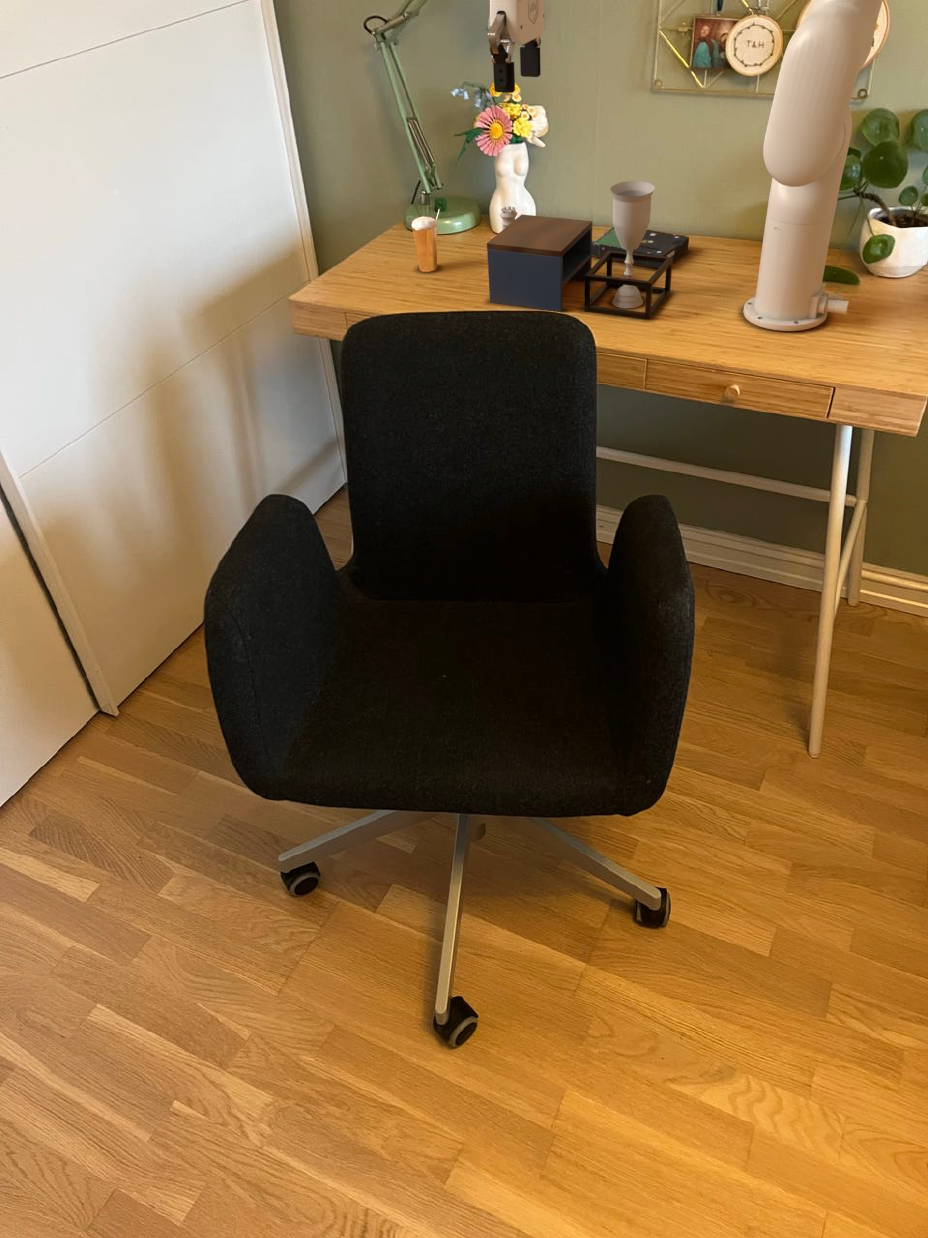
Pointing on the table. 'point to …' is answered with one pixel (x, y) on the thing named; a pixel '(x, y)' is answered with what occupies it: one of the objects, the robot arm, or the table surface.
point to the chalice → (630, 230)
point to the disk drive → (643, 246)
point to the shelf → (538, 260)
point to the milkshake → (426, 242)
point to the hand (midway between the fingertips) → (517, 83)
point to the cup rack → (618, 282)
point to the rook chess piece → (507, 216)
